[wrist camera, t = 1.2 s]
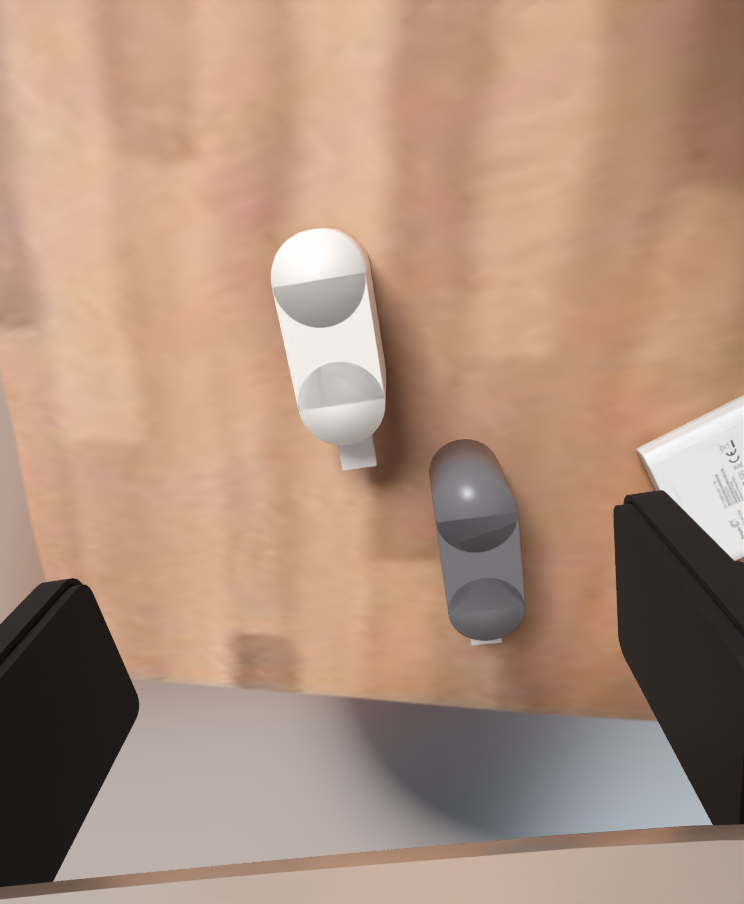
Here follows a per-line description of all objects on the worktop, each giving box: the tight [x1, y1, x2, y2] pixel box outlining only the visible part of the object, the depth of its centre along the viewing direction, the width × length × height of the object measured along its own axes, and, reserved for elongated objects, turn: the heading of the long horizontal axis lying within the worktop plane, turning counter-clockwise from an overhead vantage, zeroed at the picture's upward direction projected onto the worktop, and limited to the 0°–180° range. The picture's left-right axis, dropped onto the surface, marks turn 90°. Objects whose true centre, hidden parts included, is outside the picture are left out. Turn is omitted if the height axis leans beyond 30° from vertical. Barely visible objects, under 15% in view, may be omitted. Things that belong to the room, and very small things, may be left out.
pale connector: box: [271, 228, 386, 470], centre depth 26 cm, size 11×4×5 cm, turn 9°
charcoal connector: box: [429, 439, 525, 645], centre depth 29 cm, size 11×4×5 cm, turn 9°
